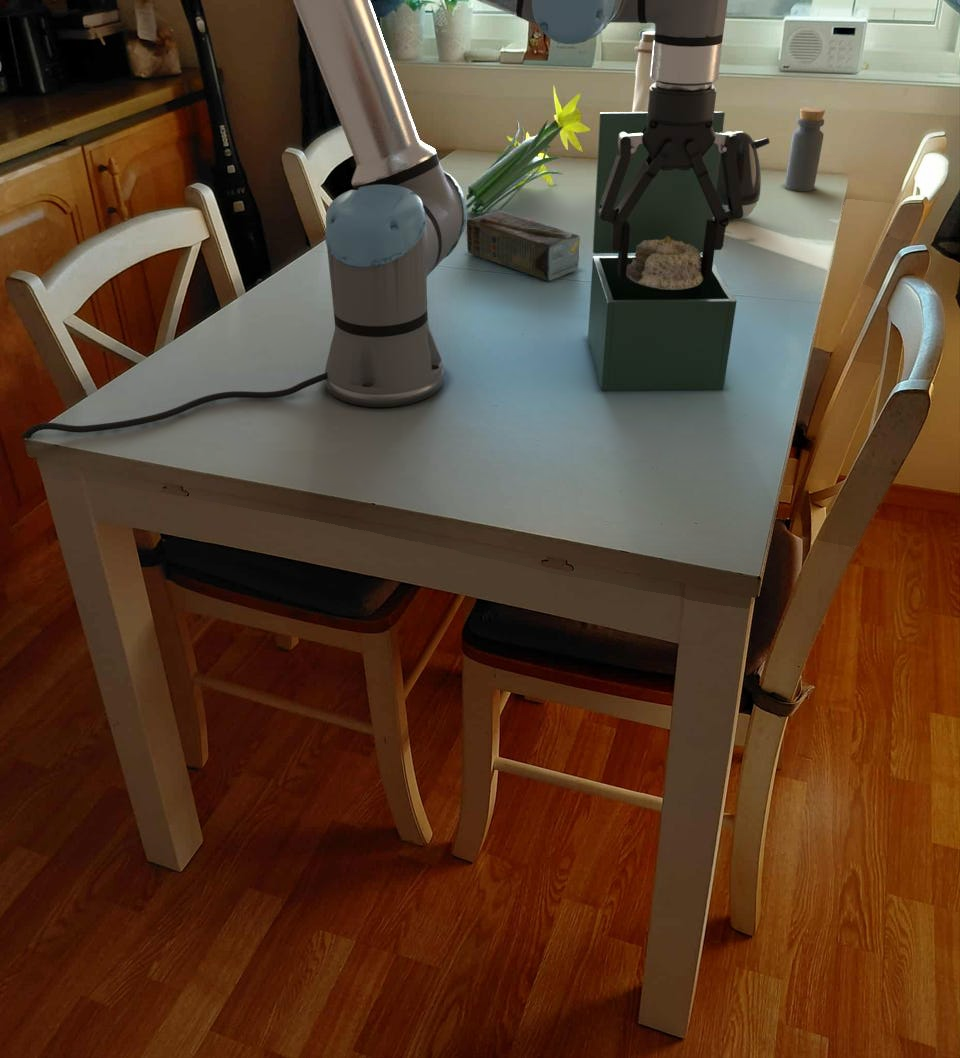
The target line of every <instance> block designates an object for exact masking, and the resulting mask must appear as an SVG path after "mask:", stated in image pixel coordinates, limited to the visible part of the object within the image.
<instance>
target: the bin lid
mask: <svg viewBox="0 0 960 1058" xmlns="http://www.w3.org/2000/svg"><path fill="white" fill-rule="evenodd" d="M725 115H726V112H725V111H714V117H713V130H714V132H715V133H724V125H725V124H724V123H725ZM646 122H647V112H632V111H629V112H628V111H627V112H625V111H624V112H623V111H622V112H621V111H620V112H617V111H613V112H612V111H611V112H608V111H607V112H599V121H598V124H599V125H598V143H597V145H598V146H597V161H596V162H597V163H596V178H595V179H596V181H595V198H594V199H595V200H594V201H595V203H594V205H595V206H594V222H593V239H592V240H593V241H592V242H593V243H592V253H593V254H618V253H619V251H613V248H612V245H611V233H612V223H611V222H608V221H603V220H602V219H601V218H600V215H599V213H598V208H599V205H600V202H601V199H602V196H603V193H604V191H605V188H606V185H607V182H608V179H609V176H610V173H611V170H612V167H613V164H614V162H615V159H616V156H617V153H618V135H619V133H621V132H626V133H627V134H637V133H642V131H643V130H644V128H645V126H646ZM648 155H649V153H648V151H647V150H646V148H645V147H644V145H643V144H640V145H639V146H638V147H637V150H636V152H635V153H634V154H631V156H630V161H629V165H628V168H627V170H626V173H625V176H624V179H623V182H622V184H621V187H620V190H619V193H618V196H617V199H616V201H615V204H614V207H613V210H615V209H616V207H617V206H618V204H619V203H620V201H621V199H622V198H623V196H624V195H625V193H626V192H627V190H628V188H629V187H630V185H631V184H632V182H633V181H634V179H635V177H636V176H637V174H638V173H639V171H640V170H641V168H642V165H643V163H644V161H645V160H646V158H647V156H648ZM702 159H703V161H704V164H705V166H706V168H707V171H708V174H709V176H710V179H711V181H712V183H713V185H714V188H715V190H716V189H717V180H718V171H719V161H720V152H719V151H718V150H717V145H716V143H713V145H712V146H711V147H710V148H709V150H708V151H707V152H706V153H705V154H704V156H703V157H702ZM707 219H713V220H714V216H713V213H712V211H711V209H710V207H709V204H708V202H707V200H706V197H705V195H704V193H703V191H702V188H701V186H700V184H699V182H698V179H697V177H696V175H695V172H694V170H693V169H692V168H691V169H689V170H680V169H673V170H669V171H663V170H662V169H660V170H659V172H658V174H657V175H656V176H655V177H654V178H653V179H652V181H651V182H650V184H649V185H648V187H647V188H646V190H645V192H644V193H643V195H642V196H641V198H640V199H639V201H638V202H637V204H636V205H635V207H634V209H633V210H632V212H631V213H630V215H629V216H628V218H627V219H626V220H627V221H628V223H629V226H630V235H629V247H628V254H636V253H635V252H636V248H637V247H636V246H637V245H638V244H640V243H641V242H643V241H644V240H647V241H648V240H655V239H657V240H661V239H663V240H664V239H665V237H666V236H668V237H670V238H671V240H672V239H673V240H674V241H678V242H681V241H682V242H683V243H684V244H690V246H692V245H693V246H694V247H695V248H696V249H698V250H699V251H700V254H703V247H704V239H705V231H706V223H707ZM669 240H670V239H669Z"/></svg>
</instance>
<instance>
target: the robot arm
mask: <svg viewBox="0 0 960 1058" xmlns="http://www.w3.org/2000/svg"><path fill="white" fill-rule="evenodd" d="M476 1H477V2H480V3H482V4H485V5H487V6H490V7H492V8H495V9H497V10H500V11H502V12H505V13H508V14H509V15H513V16H515V17H517V18H520V19H523V20H525V21H526V22H528V23H531V24H532V25H536V26H538V28H539V29H540V30H541V32H542V33H543V34H544V35H545V36H547V38H549V39H551V40H552V41H554V42H556V43H559V44H564V45H574V44H581V43H586V42H587V41H589V40H591V39H593V38H596V37H597V36H598V35H600V34H601V33H602V32H603V31H604V30H605V29H606V28H607V27H608V25H609V24H611V23H613V24H614V23H616V24H617V23H625V24H626V23H628V24H629V23H630V24H633V23H635V24H654V31H655V33H654V46H653V56H652V67H651V78H652V79H653V80H654V81H655V83H653V84H652V86H651V87H650V88H649V100H648V111H647V122H646V126H645V128H644V130H643V131H642V133H637V134H627V133H626V132H621V133H619V135H618V153H617V156H616V159H615V162H614V164H613V167H612V170H611V173H610V176H609V179H608V182H607V185H606V188H605V191H604V193H603V196H602V199H601V202H600V205H599V208H598V213H599V215H600V218H601V219H602V220H603V221H608V222H611V223H612V233H611V245H612V248H613V251H619V253H617V256H618V266H617V273H618V276H619V278H620V279H626V271H627V259H628V256H629V253H628V247H629V235H630V226H629V223H628V221H627V220H626V219H627V218H628V216H629V215H630V213H631V212H632V210H633V209H634V207H635V205H636V204H637V202H638V201H639V199H640V198H641V196H642V195H643V193H644V192H645V190H646V188H647V187H648V185H649V184H650V182H651V181H652V179H653V178H654V177H655V176H656V175H657V174H658V172H659V170H660V169H662V170H663V171H669V170H673V169H680V170H689V169H691V168H692V169H693V170H694V172H695V175H696V177H697V179H698V182H699V184H700V186H701V188H702V191H703V193H704V195H705V197H706V200H707V202H708V204H709V207H710V209H711V211H712V213H713V219H707V223H706V231H705V239H704V247H703V252H702V263H701V269H702V274H703V276H704V278H711V273H712V266H713V264H714V258H715V251H722V249H723V247H724V242H725V235H726V227H728V225H729V223H730V222H733V221H732V220H734V219H737V221H739V220H738V219H741V218H742V217H743V207H742V200H741V193H740V185H739V178H738V171H737V164H736V151H737V146H738V142H739V139H738V137H737V136H736V135H735V134H734V133H735V132H734V131H732V130H727V131H726V132H723V133H715V132H714V130H713V117H714V112H715V109H716V108H715V107H716V100H717V91H718V89H717V88H716V86H715V85H714V83H715V82H717V81H718V80H719V74H720V65H721V57H722V48H723V38H724V32H725V30H724V29H725V24H726V17H727V11H728V2H729V0H476ZM292 2H293V5H294V7H295V9H296V11H297V14H298V17H299V20H300V22H301V24H302V27H303V29H304V32H305V35H306V38H307V40H308V43H309V45H310V48H311V51H312V52H313V53H312V54H313V55H314V58H315V61H316V63H317V66H318V69H319V71H320V74H321V76H322V78H323V82H324V84H325V86H326V89H327V91H328V94H329V97H330V100H331V101H332V104H333V107H334V109H335V112H336V114H337V118H338V120H339V122H340V125H341V127H342V131H343V132H344V135H345V137H346V140H347V143H348V145H349V148H350V151H351V153H352V155H353V159H354V161H355V165H356V166H355V167H356V168H355V170H354V173H353V175H352V178H351V180H350V184H351V186H352V188H353V189H350V190H348V191H345V192H343V193H341V194H340V195H338V196H337V197H336V198H335V199H334V200H332V201H331V203H330V204H329V206H328V207H327V210H326V214H325V233H324V239H325V245H326V249H327V250H326V251H327V260H328V270H329V278H330V287H331V288H330V289H331V298H332V306H333V307H332V308H333V319H334V331H333V334H332V340H331V344H330V348H329V351H328V356H327V359H326V364H325V369H324V372H323V373H321V374H319V375H316V376H314V377H311V378H309V379H306V380H304V381H301V382H299V383H297V384H295V385H293V386H290V387H289V388H285V389H279V390H274V391H273V390H272V391H247V390H233V391H223V392H217V393H213V394H208V395H204V396H201V397H198V398H195V399H193V400H191V401H188V402H185V403H183V404H181V405H179V406H176V407H173V408H171V409H168V410H165V411H162V412H159V413H155V414H150V415H147V416H146V415H145V416H141V417H137V418H131V419H126V420H121V421H114V422H106V423H97V424H88V425H72V424H65V423H57V422H40V423H37V424H35V425H32V426H30V427H29V428H28V429H26V431H24V432H23V434H22V435H21V439H23V440H24V439H29V438H32V436H33V435H34V434H35V433H37V432H40V431H45V430H53V431H59V432H67V433H76V434H77V433H80V434H81V433H93V432H102V431H110V430H118V429H124V428H131V427H136V426H141V425H145V424H149V423H153V422H158V421H161V420H165V419H168V418H171V417H174V416H176V415H179V414H181V413H183V412H186V411H188V410H191V409H193V408H195V407H196V408H197V407H198V406H202V405H203V404H207V403H211V402H214V401H218V400H224V399H236V398H237V399H238V398H239V399H241V398H245V399H274V398H281V397H287V396H290V395H292V394H296V393H298V392H300V391H301V390H303V389H306V388H308V387H310V386H313V385H315V384H318V383H320V382H323V381H325V386H326V388H327V390H328V392H329V393H330V394H331V395H332V396H334V398H337V399H338V400H340V401H343V402H345V403H347V404H348V403H349V404H352V405H355V406H360V407H367V408H368V407H369V408H391V407H393V408H394V407H401V406H406V405H410V404H414V403H417V402H420V401H423V400H425V399H428V398H429V397H431V396H432V395H434V394H436V393H437V392H438V391H440V389H441V388H442V386H443V385H444V382H445V366H444V361H443V358H442V356H441V354H440V351H439V349H438V346H437V343H436V341H435V338H434V335H433V333H432V330H431V327H430V323H429V316H428V315H429V313H428V287H427V283H428V282H427V279H428V276H429V275H430V274H431V273H432V272H433V271H434V270H435V268H437V266H438V265H440V263H441V262H442V261H443V260H444V259H446V258H447V257H448V256H450V254H451V253H452V252H454V249H455V248H456V247H457V246H458V244H459V241H460V239H461V237H462V235H463V233H464V230H465V228H466V225H467V220H468V217H467V216H468V209H467V207H466V205H467V200H466V198H465V194H464V192H463V190H462V188H461V186H460V185H459V183H458V182H457V181H456V179H455V178H454V177H453V176H452V175H451V174H450V173H447V172H446V171H445V170H444V169H443V167H442V165H441V162H440V158H439V156H438V153H437V151H436V149H435V148H434V147H432V146H430V145H428V144H426V143H425V142H423V141H422V140H420V137H419V135H418V132H417V130H416V129H417V128H416V126H415V123H414V121H413V118H412V115H411V113H410V109H409V107H408V104H407V101H406V99H405V95H404V93H403V90H402V87H401V84H400V82H399V78H398V75H397V73H396V70H395V68H394V64H393V62H392V59H391V57H390V53H389V50H388V48H387V47H388V46H387V45H386V42H385V40H384V37H383V34H382V31H381V28H380V25H379V22H378V20H377V16H376V13H375V11H374V7H373V5H372V2H371V0H292ZM713 143H716V145H717V150H718V151H719V152H720V153H721V159H722V166H723V173H724V180H725V187H726V193H727V200H728V208H725V209H723V206H722V204H721V202H720V199H719V197H718V195H717V192H716V190H715V188H714V185H713V183H712V181H711V179H710V176H709V174H708V171H707V168H706V166H705V164H704V161H703V159H702V157H703V156H704V154H705V153H706V152H707V151H708V150H709V148H710V147H711V146H712V145H713ZM640 144H643V145H644V147H645V148H646V150H647V151H648V153H649V155H648V156H647V158H646V160H645V161H644V163H643V165H642V168H641V170H640V171H639V173H638V174H637V176H636V177H635V179H634V181H633V182H632V184H631V185H630V187H629V188H628V190H627V192H626V193H625V195H624V196H623V198H622V199H621V201H620V203H619V204H618V206H617V207H616V209H615V210H613V207H614V204H615V201H616V199H617V196H618V193H619V190H620V187H621V184H622V182H623V179H624V176H625V173H626V170H627V168H628V165H629V161H630V156H631V154H634V153H635V152H636V150H637V147H638V146H639V145H640ZM741 220H742V219H741Z"/></svg>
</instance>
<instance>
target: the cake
mask: <svg viewBox="0 0 960 1058" xmlns="http://www.w3.org/2000/svg"><path fill="white" fill-rule="evenodd" d="M669 239H670V240H669ZM636 247H637V248H636V252H635V253H634V254H635V255H634V256H635V257H636V258H635V259H632V261H633V262H632V263H631V264H629V265H627V271H626V275H627V277H628V278H629V279H630V280H632V281H634V282H636V283H639V284H641V285H645V286H648V287H652V288H659V289H666V290H669V289H671V290H676V289H681V290H682V289H688V288H692V287H695V286H698V285H699V284H701V282H703V280H704V279H703V276H702V269H701V259H700V257H701V256H700V255H701V253H700V251H699V250H698V249H696V248H695V247H694V246H693V245H692V246H690V244H684V243H683V242H682V241H681V242H678V241H674V240H673V239H672V240H671V238H670V237H668V236H666V237H665V239H664V240H663V239H661V240H657V239H655V240H648V241H647V240H644V241H643V242H641V243H640V244H638V245H637V246H636Z"/></svg>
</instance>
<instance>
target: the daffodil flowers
mask: <svg viewBox="0 0 960 1058" xmlns="http://www.w3.org/2000/svg"><path fill="white" fill-rule="evenodd" d="M552 88H553V101H554V108H555V114H554V115H553V117H554V120H553V121H552V122H551V123H550V124H548V119H547V120H546V121H545V122H544V124H543V125H542V127H541V128H540V130H539V132H538V133H537V134H536V135H535V136H530V133H529V132H528V131H527V132H526V133H525V131H524V127H522V128H521V129H522V130H521V132H522V133H521V142H519V140H518V138H519V135H520V123H519V120H518V119H517V120H516V126H517V127H516V133H515V135H514V137H511V136H509V135H506V139H507V141H509V142H510V143H509V144H508V145H507V147H506V148H504V150H503V151H502V153H501V154H500V155H499V156H498V158H497V159H496V160H495V161H494V162H493V163H492V164H491V165H490V166H489V168H488V169H487V170H485V172H484V173H482V174H481V175H480V176H479V177H477V179H475V180H474V181H473V182H471V184H469V185H468V186H467V187H468V189H467V192H468V194H467V195H466V198H465V200H466V201H468V200H470V199H471V198H472V197H473V198H472V199H471V200H470V201H469V202H468V203H466V207H467V210H469V209H470V207H471V206H472V205H473V206H472V207H471V212H470V213H472V214H478V213H479V216H480V215H482V214H487V212H489V211H490V210H491V209H492V208H493V207H495V206H496V205H498V203H499V202H501V201H502V200H504V199H505V198H507V197H508V196H509V195H511V196H510V197H508V199H507V200H506V201H505V202H504V203H503V204H502V205H501V206H500V207H499V208H498V209H497V210H500V211H502V210H503V208H505V207H506V205H508V204H509V203H510V202H511V201H512V199H513V198H514V197H515V196H516V195H517V194H518V193H519V192H520V191H521V189H522V188H523V187H524V186H525V185H527V184H528V183H531V182H532V181H534V180H536V179H538V178H540V177H541V178H542V179H543V180H545V182H547V183H548V184H549V185H551V186H554V183H553V179H552V175H563V173H562V172H559V171H556V170H548V169H547V167H546V166H545V165H544V164H546V163H549V162H552V161H554V160H557V159H560V158H561V156H548V155H547V153H548V152H547V151H548V150H547V149H550V148H554V147H555V145H550V144H551V143H552V142H553V140H554V139H555V138H556V137H557V136H558V135H559V137H560V141H561V143H562V144H563V146H564V148H565V149H566V150H567V151H568V150H569V142H570V144H571V145H572V146H573V147H574V148H575V149H577V150H578V151H579V152H581V153H584V151H583V148H582V145H581V144H580V141H579V139H578V138H577V136H576V133H577V134H579V133H580V134H581V133H587V132H590V131H591V128H590V127H588V126H586V124H585V125H584V124H583V123H581V122H582V120H583V115H582V113H581V110H579V108H578V107H577V104H578V102H579V100H580V97H581V93H580V92H579V93H578V94H576V95H575V96H574V97H573V98H572V99H571V100H569V101H568V103H566V105H564V107H563V108H562V105H561V103H560V101H559V98H558V95H557V92H556V87H555V85H554V84H552ZM547 124H548V125H547ZM568 141H569V142H568ZM513 147H514V148H513ZM512 148H513V150H511V149H512ZM533 171H534V172H533ZM512 193H513V194H512Z"/></svg>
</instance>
